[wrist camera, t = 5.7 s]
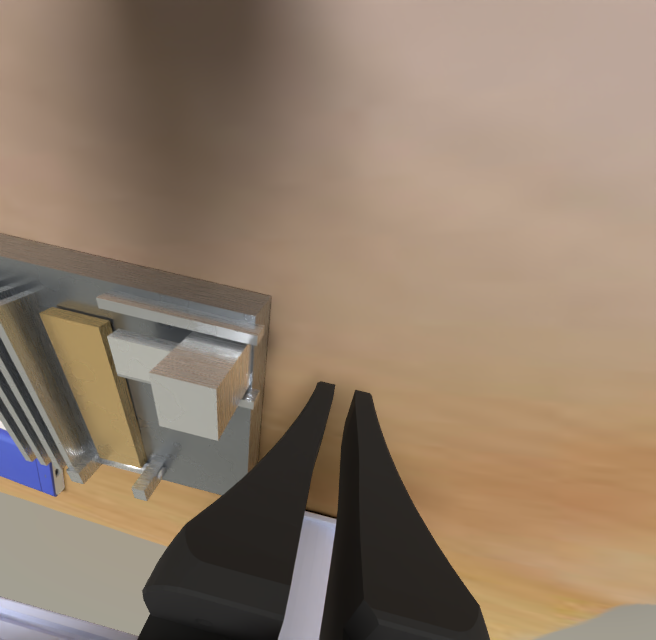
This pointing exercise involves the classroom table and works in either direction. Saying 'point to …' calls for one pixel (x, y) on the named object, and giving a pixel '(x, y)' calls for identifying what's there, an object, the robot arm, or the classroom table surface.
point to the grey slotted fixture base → (132, 315)
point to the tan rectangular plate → (96, 384)
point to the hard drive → (27, 468)
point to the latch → (187, 377)
